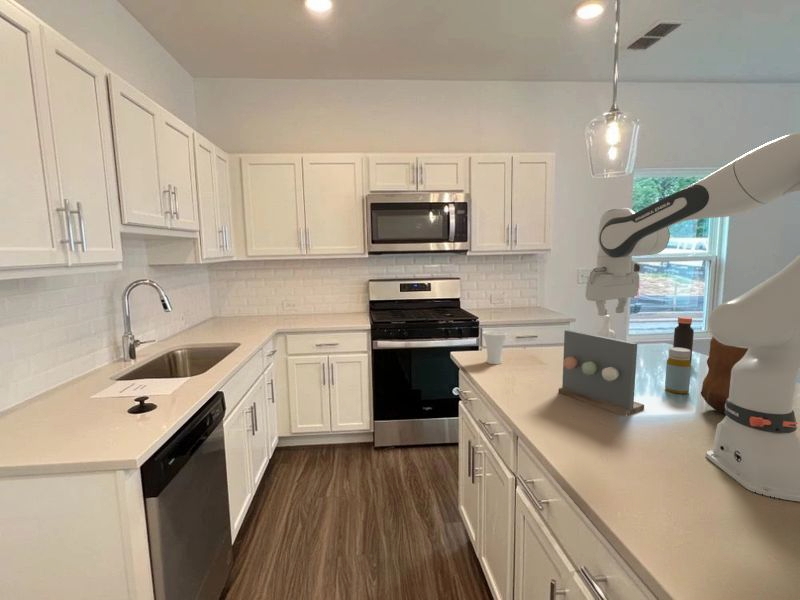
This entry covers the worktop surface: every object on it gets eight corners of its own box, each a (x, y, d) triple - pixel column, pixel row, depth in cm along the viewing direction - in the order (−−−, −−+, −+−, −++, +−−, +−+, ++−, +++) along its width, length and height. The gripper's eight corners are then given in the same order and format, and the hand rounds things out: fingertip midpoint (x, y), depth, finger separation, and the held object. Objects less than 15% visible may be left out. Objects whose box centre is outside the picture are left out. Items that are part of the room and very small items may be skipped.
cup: (481, 364, 178) (481, 334, 176) (483, 358, 188) (483, 329, 186) (505, 366, 175) (506, 335, 173) (506, 360, 185) (507, 330, 183)
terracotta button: (573, 370, 135) (573, 359, 135) (563, 367, 138) (563, 356, 138) (578, 369, 136) (578, 358, 136) (567, 366, 140) (568, 355, 139)
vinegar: (668, 362, 179) (671, 317, 176) (679, 360, 181) (683, 316, 178) (683, 366, 172) (686, 319, 170) (695, 364, 174) (698, 318, 172)
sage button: (592, 376, 129) (593, 364, 129) (581, 373, 132) (582, 361, 132) (597, 375, 130) (598, 362, 130) (586, 371, 134) (586, 360, 133)
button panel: (625, 416, 123) (629, 344, 120) (558, 392, 143) (560, 331, 140) (643, 409, 128) (648, 340, 125) (576, 387, 148) (579, 327, 145)
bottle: (692, 395, 139) (696, 352, 137) (669, 393, 141) (673, 351, 139) (683, 388, 146) (686, 347, 144) (661, 387, 147) (664, 346, 146)
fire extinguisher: (595, 384, 151) (598, 317, 148) (594, 374, 162) (597, 312, 159) (615, 386, 148) (619, 319, 145) (613, 376, 159) (616, 313, 156)
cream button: (613, 382, 123) (614, 369, 123) (601, 378, 126) (602, 366, 126) (618, 381, 124) (619, 368, 124) (606, 377, 128) (606, 365, 127)
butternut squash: (752, 410, 126) (760, 330, 123) (763, 426, 115) (772, 339, 112) (697, 401, 133) (703, 326, 130) (702, 416, 122) (709, 334, 119)
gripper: (601, 268, 109) (599, 319, 111) (644, 265, 119) (641, 312, 121) (580, 267, 115) (578, 316, 116) (623, 265, 125) (621, 309, 127)
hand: (611, 314), depth 119 cm, fingers open, 7 cm apart
